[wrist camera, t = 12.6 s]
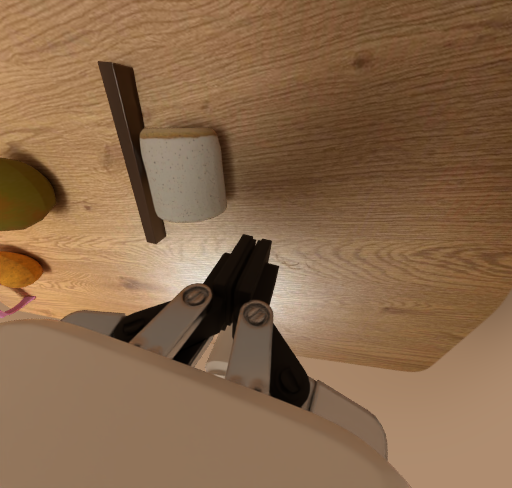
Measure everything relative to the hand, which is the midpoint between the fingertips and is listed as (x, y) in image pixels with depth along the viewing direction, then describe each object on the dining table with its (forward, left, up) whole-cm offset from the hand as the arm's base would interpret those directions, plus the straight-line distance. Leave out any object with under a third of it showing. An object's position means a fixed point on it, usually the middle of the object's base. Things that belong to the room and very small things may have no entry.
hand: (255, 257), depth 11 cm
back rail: (+15, -9, -13) cm, 22 cm away
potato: (+62, -9, -13) cm, 64 cm away
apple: (+35, -16, -13) cm, 41 cm away
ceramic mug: (+9, -7, -13) cm, 17 cm away
